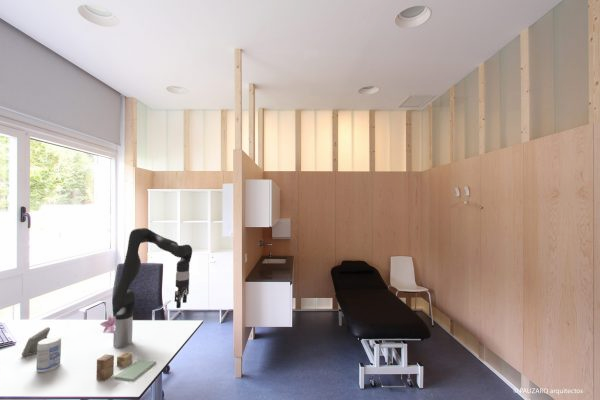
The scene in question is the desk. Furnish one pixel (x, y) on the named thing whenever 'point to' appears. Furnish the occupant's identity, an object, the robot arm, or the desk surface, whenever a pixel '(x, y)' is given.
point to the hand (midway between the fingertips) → (181, 305)
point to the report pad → (135, 370)
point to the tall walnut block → (105, 367)
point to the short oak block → (124, 359)
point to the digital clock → (35, 342)
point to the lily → (109, 324)
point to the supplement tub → (48, 354)
